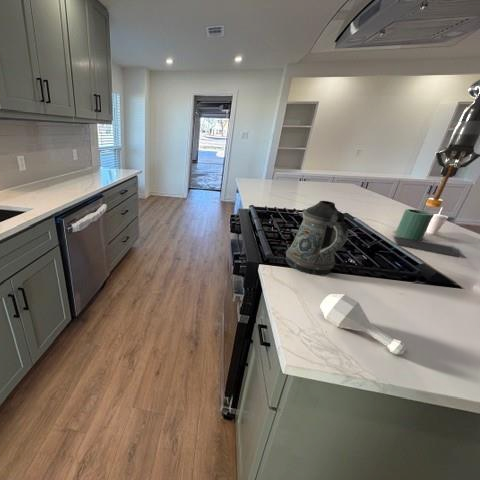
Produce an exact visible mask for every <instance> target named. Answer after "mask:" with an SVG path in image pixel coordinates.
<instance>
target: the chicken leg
mask: <svg viewBox="0 0 480 480" xmlns="http://www.w3.org/2000/svg"><path fill="white" fill-rule="evenodd" d="M319 307H320V309H321V311H322V314H323V316H324V318H325V319H326V320H327V321H328V322H329V323H331V324H333V326H335V327H337V328H341V329H347V330H353V331H359V332H364V333H366V334H367V335H369V336H370V337H372V338H374V339H375V340H376V341H378V342H379V343H381V344H382V345H384V346H385V347H386V348H387V349H388V350H389V352H390V353H392V354H393V355H403V354H404V353H405V352H406V344H405V343H404V342H403V341H402V340H399V339H395V338H393V337H392V336H390V335H388V334H387V333H385V332H384V331H382V330H381V329H379V328H377V327H376V326H375V325H373V324H372V323H371V322H370V320H369V318H368V316H367V314H366V313H365V311H364V310H363V308H362V305H360V303H359V301H357V300H356V299H354V298H353V297H351V296H349V295H347V294H345V293H329V294H328V295H327V296H326V297H324V299H323V300H322V301H321V303H320V305H319Z"/></svg>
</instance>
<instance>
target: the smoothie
mask: <svg viewBox="0 0 480 480" xmlns="http://www.w3.org/2000/svg"><path fill="white" fill-rule="evenodd" d="M443 209H444V207H443V206H441V207H440V210H439V212H438V213H433V214H434V215H433V217H432V219H431V221H430V223H429V225H428V228H427V230H426V233H427V234H430V235H437V233H438V232H439V231H440V229H441V228H442V227H443V225H444V224H445V223H446V221H447V220H448V219H449V216H447V215H445V214H441V213H442V210H443Z"/></svg>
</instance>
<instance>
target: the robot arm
mask: <svg viewBox="0 0 480 480" xmlns="http://www.w3.org/2000/svg"><path fill="white" fill-rule="evenodd" d="M468 94H469V96H470V97H472V98H474V99H475V100H474V101H473V103H471V104H470V105H468V106H466V108H464V110H463V112H462V114H461V116H460V118H459V120H458V122H457V125H456V126H455V128H454V130H453V132H452V134H451V136H450V139H449V141H448V143H447V146H446V147H445V148H444V149H443V150H441V151H436V152H434V156H435V160H436V162H437V165H438V166H440V167H441V170H440V172H439V175H440V177H442V178H443V177H444V176H445V174H446V172H447V170H448V166H449V165H451V163H452V161H453V160H455V162H454V165H455V166H454V168H453V170H452V172H451V174H450V177H449V178H453V177H455V176H456V174H457V173H458V170H459V169H460V168H466V167H468V166H470V165H471V164H472V163H473V162H475V161H476V160H477V159H478V158H480V153H477V152H475V146H476V144H477V142H478V140H479V138H480V79H477V80H475V82H473V83H472V84H471V85H470V86H469V88H468ZM444 155H445V157H446V159H445V161H443V158H442V157H443V156H444ZM467 157H469V158H468V159H466V160H465V161H464V159H465V158H467ZM463 161H464V162H463Z"/></svg>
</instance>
